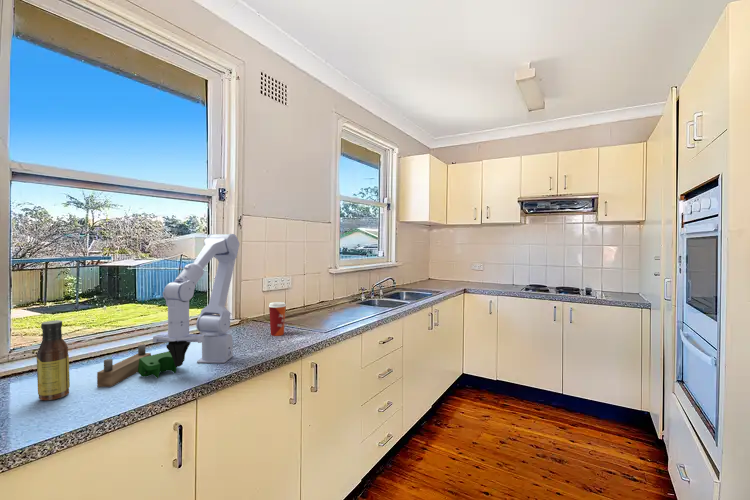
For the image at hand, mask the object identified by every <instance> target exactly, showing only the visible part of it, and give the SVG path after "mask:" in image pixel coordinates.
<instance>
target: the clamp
mask: <svg viewBox="0 0 750 500" xmlns="http://www.w3.org/2000/svg"><path fill="white" fill-rule="evenodd" d="M185 359H186V355H185V356H184V360H183V362H185ZM177 368H178V367H175V364H174V361H173V358H172V355H171V353H170V352H169V350H168V351H164V352H160V353H156V354H151V356H146V357H142V358H139V366H138V372H137V373H138V374H139V375H140V376H141V377H142V378H146V377H150V376H154V377H155V378H156V379H159V378H160V373H164V372H165V373H166V372H168V371H169V372H170V371H171V372H172V373H174V374H176V373H177Z"/></svg>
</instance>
